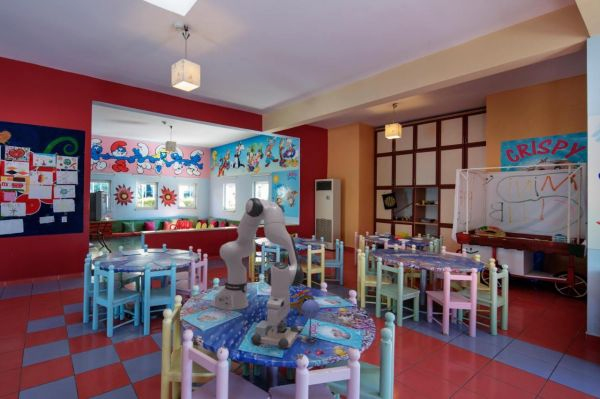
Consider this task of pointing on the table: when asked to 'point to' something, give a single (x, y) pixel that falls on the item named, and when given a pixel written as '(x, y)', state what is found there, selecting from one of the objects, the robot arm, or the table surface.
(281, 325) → the engine block
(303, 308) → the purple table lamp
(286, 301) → the robot arm
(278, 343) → the chassis
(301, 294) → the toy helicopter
